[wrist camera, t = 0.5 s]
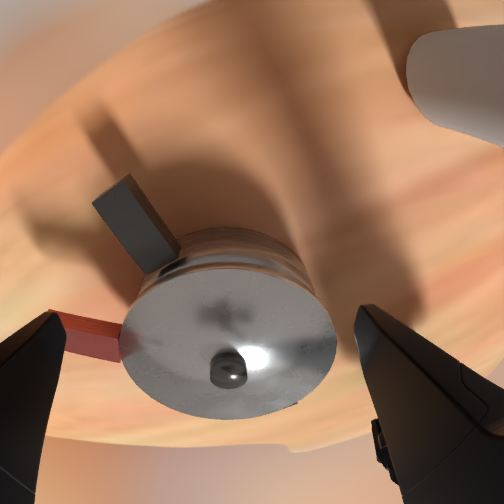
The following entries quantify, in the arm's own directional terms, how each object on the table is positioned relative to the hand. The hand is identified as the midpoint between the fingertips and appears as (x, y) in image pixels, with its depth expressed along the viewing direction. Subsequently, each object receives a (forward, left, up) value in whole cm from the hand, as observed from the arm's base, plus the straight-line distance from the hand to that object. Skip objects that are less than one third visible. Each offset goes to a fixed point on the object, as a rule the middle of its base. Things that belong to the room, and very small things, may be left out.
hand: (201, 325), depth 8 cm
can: (0, -18, -14) cm, 23 cm away
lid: (-7, +7, -9) cm, 13 cm away
